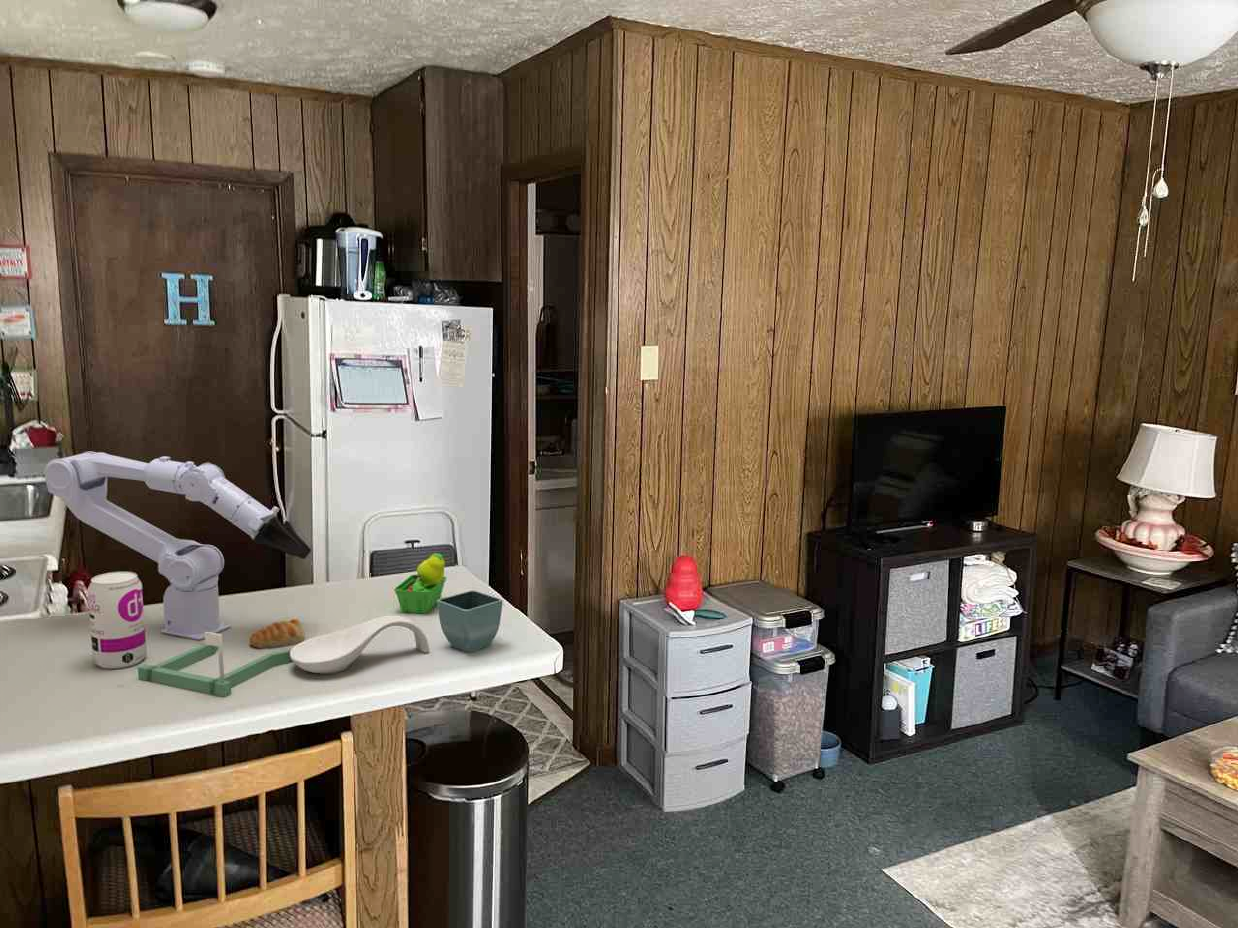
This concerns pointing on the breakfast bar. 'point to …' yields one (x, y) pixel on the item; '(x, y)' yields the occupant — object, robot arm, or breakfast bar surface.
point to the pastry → (279, 634)
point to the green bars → (220, 686)
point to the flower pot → (470, 619)
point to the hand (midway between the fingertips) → (303, 553)
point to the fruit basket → (422, 586)
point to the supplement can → (117, 620)
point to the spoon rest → (347, 645)
